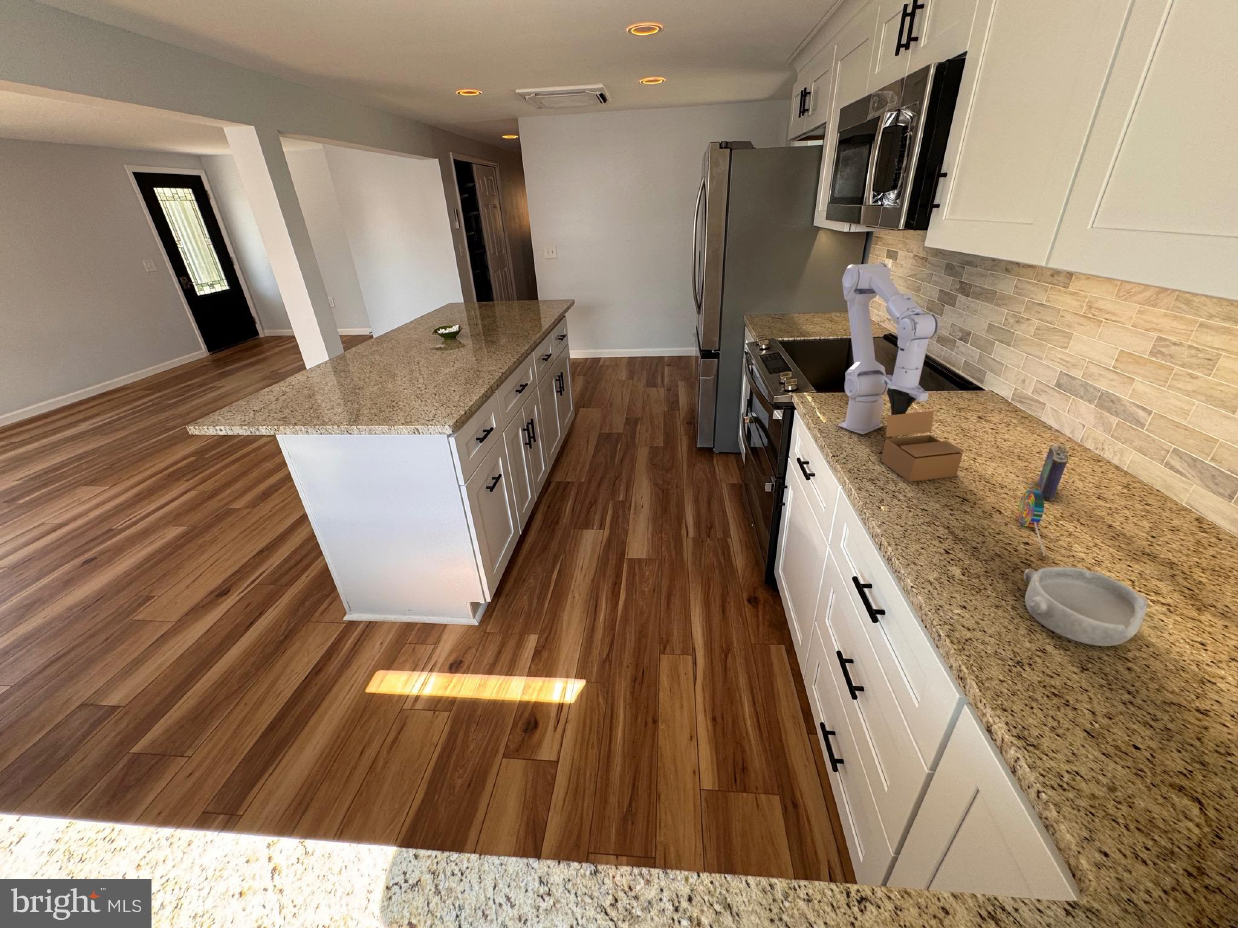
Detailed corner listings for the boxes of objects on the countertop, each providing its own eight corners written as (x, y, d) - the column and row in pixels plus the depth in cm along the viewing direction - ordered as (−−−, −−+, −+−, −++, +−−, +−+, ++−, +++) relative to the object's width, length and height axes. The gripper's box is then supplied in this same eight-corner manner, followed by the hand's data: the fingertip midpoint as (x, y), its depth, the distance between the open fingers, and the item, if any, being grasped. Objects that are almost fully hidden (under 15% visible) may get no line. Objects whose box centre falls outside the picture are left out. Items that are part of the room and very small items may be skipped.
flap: (886, 436, 123) (885, 436, 123) (931, 432, 124) (930, 431, 124) (888, 415, 121) (887, 415, 122) (933, 411, 122) (932, 410, 123)
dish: (1137, 612, 79) (1151, 587, 76) (1137, 668, 70) (1153, 642, 67) (1022, 574, 87) (1032, 550, 85) (1009, 620, 78) (1019, 595, 76)
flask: (1036, 480, 115) (1052, 436, 110) (1052, 483, 113) (1069, 439, 108) (1039, 498, 108) (1056, 453, 103) (1056, 502, 106) (1075, 456, 101)
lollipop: (1031, 566, 94) (1015, 506, 104) (1040, 567, 93) (1023, 507, 103) (1048, 543, 89) (1029, 482, 99) (1058, 544, 89) (1038, 483, 98)
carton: (880, 460, 126) (886, 436, 123) (924, 455, 127) (930, 431, 124) (909, 481, 116) (915, 455, 113) (956, 476, 118) (963, 450, 115)
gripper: (875, 359, 127) (865, 410, 133) (913, 376, 114) (900, 431, 120) (901, 357, 128) (890, 407, 134) (941, 373, 115) (927, 429, 121)
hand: (896, 419), depth 127 cm, fingers closed
